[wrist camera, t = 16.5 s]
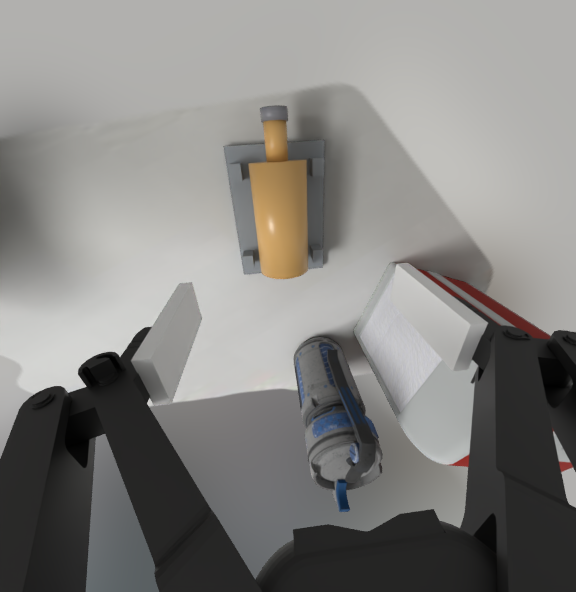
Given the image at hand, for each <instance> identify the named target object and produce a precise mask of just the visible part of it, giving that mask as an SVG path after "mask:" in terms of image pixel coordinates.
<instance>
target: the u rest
mask: <svg viewBox="0 0 576 592" xmlns="http://www.w3.org/2000/svg"><path fill="white" fill-rule="evenodd" d="M287 146H288V160H307V222H308V269H312V268H323V204H324V140H314V141H298V142H287ZM224 152H225V159H226V165H227V171H228V177H229V184H230V190H231V196H232V202H233V208H234V215H235V221H236V227H237V233H238V240H239V246H240V252H241V258H242V264H243V271H244V274H255V273H262V272H261V266H260V257H259V249H258V241H257V232H256V224H255V216H254V207H253V199H252V191H251V182H250V174H249V165H248V164H249V163H256V162H267V160H266V149H265V144H251V145H235V146H224Z"/></svg>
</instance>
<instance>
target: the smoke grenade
mask: <svg viewBox="0 0 576 592" xmlns="http://www.w3.org/2000/svg"><path fill="white" fill-rule="evenodd" d="M294 366H295V373H296V379H297V386H298V393H299V400H300V407H301V413H302V420H303V424H304V427H306V432H305V439H306V447H307V454H308V461H309V464H310V470H311V476H312V478H313V480H314V482H315V483H316V484H317V485H318V486H319V487H321V488H323V489H327V490H332V492H333V497H334V499H335V502H336V505H337V507H338V510H339V511H340V512H348V511H349V510H350V508H349V505H348V500H347V495H346V490H350V489H355V488H359V487H361V486H364V485H366V484H369V483H371V482H372V481H374V480H375V479H377V478H378V477H379V476H380V474H381V473H382V466H381V463H380V462H381V460H382V451H381V448H380V445H379V441H378V438H379V437H378V435H377V432H376V430H375V427H374V424H373V423H372V421H371V420H370V419H369V418H368V417H366V416H365V406H364V404H363V401H362V399H361V396H360V394H359V391H358V389H357V386H356V384H355V381H354V379H353V376H352V374H351V371H350V369H349V366H348V364H347V361H346V359H345V356H344V354H343V351H342V349H341V347H340V346H339V345H338V344H337V343H336V342H335V341H333V340H331V339H329V338H325V337H324V338H322V337H316V338H312V339H309V340H307V341H306V342H304V343H302V344H301V345H300V346H299V347H298V349H297V351H296V352H295V355H294Z"/></svg>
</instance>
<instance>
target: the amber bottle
mask: <svg viewBox="0 0 576 592" xmlns="http://www.w3.org/2000/svg"><path fill="white" fill-rule="evenodd" d="M260 112H261V122H262V123H263V126H264V137H265V149H266V160H267V162H256V163H249V164H248V165H249V174H250V182H251V191H252V199H253V207H254V216H255V224H256V232H257V241H258V249H259V257H260V266H261V272H262V274H263V275H265V276H267V277H270V278H275V279H289V278H294V277H298V276H301V275H303V274H304V273H306V272H307V270H308V222H307V160H288V146H287V125H286V121H288V108H287V106H267V107H262V108H260Z"/></svg>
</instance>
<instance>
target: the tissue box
mask: <svg viewBox="0 0 576 592" xmlns="http://www.w3.org/2000/svg"><path fill="white" fill-rule="evenodd" d="M396 264H399V263H394V262H392V263H390V264H389V265H388V267H387V269H386V271H385V272H384V274H383V276H382V278H381V280H380V282H379V284H378V286H377V288H376V289H375V291H374V293H373V295H372V297H371V299H370V301H369V303H368V305H367V306H366V308H365V310H364V312H363V314H362V316H361V318H360V320H359V322H358V323H357V325H356V327H355V329H354V334H355V336H356V338H357V340H358V342H359V344H360V346H361V348H362V350H363V352H364V354H365V356H366V358H367V360H368V362H369V364H370V366H371V368H372V370H373V372H374V374H375V376H376V378H377V380H378V382H379V384H380V386H381V388H382V390H383V392H384V394H385V396H386V398H387V400H388V402H389V404H390V406H391V407H392V410H393V411H394V414H395V415H396V418H397V420H398V422H399V423H400V425H401V427H402V429H403V431H404V432H405V434H406V435H407V437H408V438H409V439H410V440H411V442H412V443H413V444H414V445H415V446H416V447H417V448H418V450H420V451H421V452H422V453H423V454H424V455H425V456H426V457H428V458H429V459H431V460H433V461H435V462H437V463H440V464H445V465H453V466H466V467H468V466H469V453H470V439H471V426H472V413H473V399H474V386H475V382H474V384H472V383H471V381H472V378H473V376H474V374H475V372H476V370H477V367H478V365H477V364H476V363H475V362H474V361H473V360H472V361H471V364H470V366H469V368H468V370H460V371H452V370H451V369H450V368H449V367H448V366H447V364H446V363H445V362H444V361H443V360H442V359H441V358H440V356H439V355H438V354H437V353H436V352H435V351H434V350H433V348H432V347H431V346H430V345H429V344H428V343H427V342H426V340H425V339H424V338H423V337H422V336H421V335H420V334H419V332H418V331H417V330H416V329H415V328H414V327H413V326H412V324H411V323H410V322H409V321H408V320H407V319H406V318H405V316H404V315H403V314H402V313H401V312H400V311H399V310H398V308H397V307H396V306H395V305H394V304H393V303H392V302H391V300H390V298H391V292H392V286H393V281H394V275H395V269H396ZM417 270H418V271H420V272H421V273H422V274H424V275H425V276H426V277H428V278H429V279H430V280H432V281H433V282H434V283H436V284H437V285H438V286H440V287H441V288H442V289H444V290H445V291H446V292H448V293H449V294H450V295H452V296H456V297H458V298H461V299H463V300H465V301H467V302H468V303H469V304H471V305H472V306H473V307H475V308H476V309H478V310H479V312H482V313H483V314H485V315H486V316H487V317H489V318H490V319H491V320H493V321H494V322H496V323H497V324H498V325H500V326H502V325H507V326H513V327H516V328H519V329H522V330H524V331H526V332H527V333H529V334H530V335H531V336H532V337H533V338H540V339H550V337H551V336H550V335H549V334H547V333H546V332H544V331H542V330H541V329H539V328H538V327H536V326H535V325H533V324H531V323H530V322H528V321H527V320H525V319H524V318H522V317H520V316H519V315H517V314H516V313H514V312H512V311H511V310H509V309H508V308H506V307H505V306H503V305H501V304H500V303H498V302H497V301H495V300H494V299H492V298H490V297H489V296H487V295H486V294H484V293H483V292H481V291H479V290H478V289H476V288H475V287H473V286H472V285H470V284H468V283H466V282H463V281H459V280H455V279H452V278H448V277H445V276H441V275H439V274H438V273H435V272H431V271H423V270H420V269H417ZM572 384H573V383H572ZM552 430H553V428H552ZM553 435H554V440H555V445H556V449H557V454H558V459H559V464H560V469H561V473H562V472H565V471H567V470H569V469H572V468H573V466H572V464H571V462H570V460H569V458H568V457H567V455H566V453H565V451H564V449H563V447H562V445H561V443H560V442H559V440H558V438H557V436H556V434H555V432H554V430H553Z"/></svg>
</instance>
